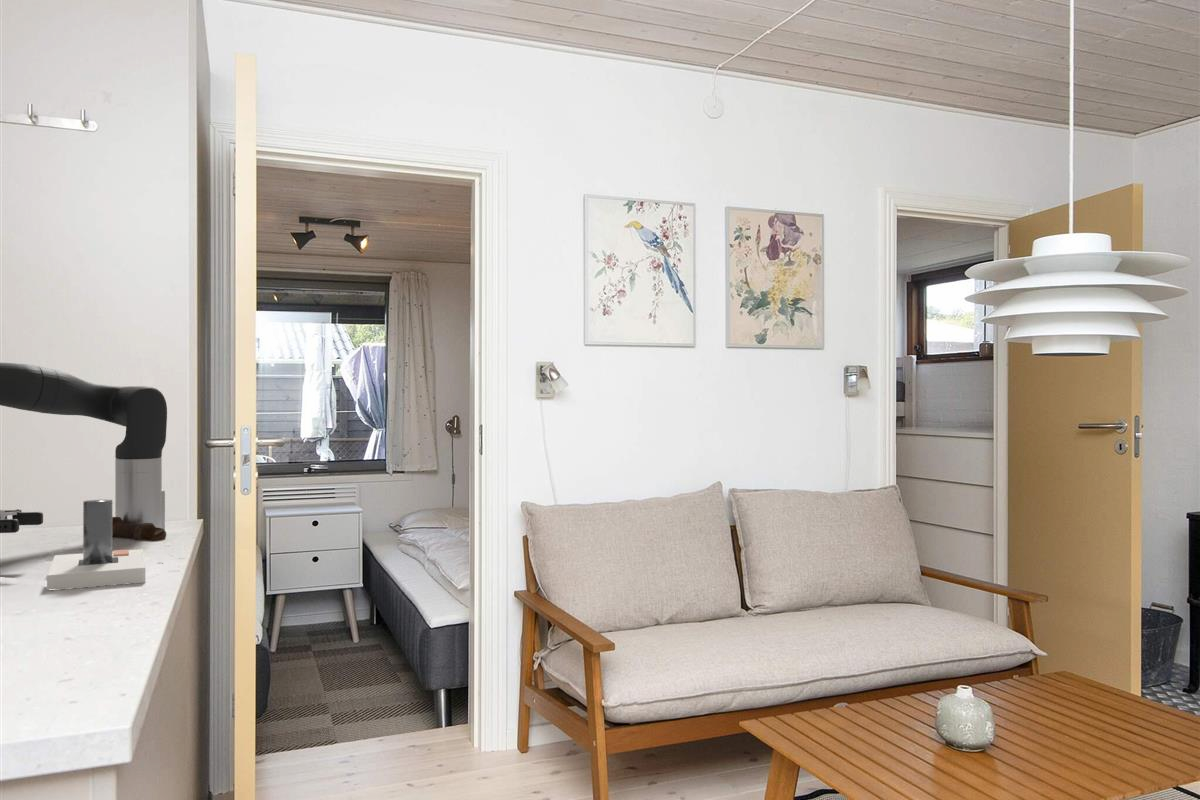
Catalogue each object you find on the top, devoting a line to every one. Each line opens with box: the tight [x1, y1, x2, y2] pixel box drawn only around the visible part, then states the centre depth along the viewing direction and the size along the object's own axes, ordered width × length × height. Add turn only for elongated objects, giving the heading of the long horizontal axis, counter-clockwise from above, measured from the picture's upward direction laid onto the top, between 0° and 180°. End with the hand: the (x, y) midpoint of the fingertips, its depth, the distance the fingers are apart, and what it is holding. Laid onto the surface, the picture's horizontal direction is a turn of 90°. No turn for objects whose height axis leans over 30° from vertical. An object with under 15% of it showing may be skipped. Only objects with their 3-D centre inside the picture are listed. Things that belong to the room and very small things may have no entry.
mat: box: [46, 549, 83, 562], centre depth 168 cm, size 10×10×1 cm
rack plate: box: [46, 548, 146, 591], centre depth 153 cm, size 20×14×3 cm
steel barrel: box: [82, 498, 113, 565], centre depth 153 cm, size 4×4×13 cm
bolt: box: [112, 516, 167, 542], centre depth 188 cm, size 6×5×15 cm
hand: (30, 521), depth 152 cm, fingers open, 8 cm apart
